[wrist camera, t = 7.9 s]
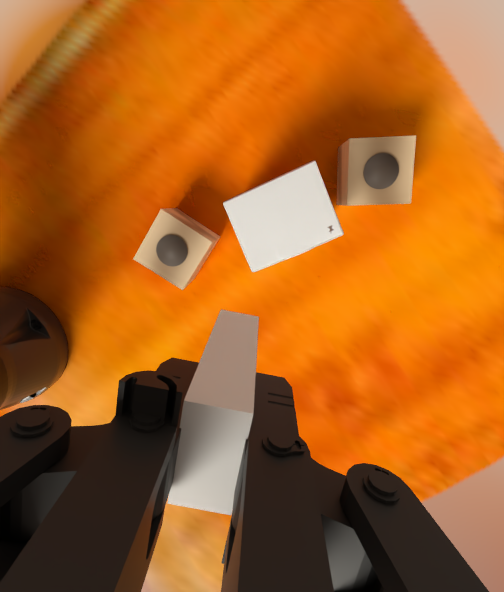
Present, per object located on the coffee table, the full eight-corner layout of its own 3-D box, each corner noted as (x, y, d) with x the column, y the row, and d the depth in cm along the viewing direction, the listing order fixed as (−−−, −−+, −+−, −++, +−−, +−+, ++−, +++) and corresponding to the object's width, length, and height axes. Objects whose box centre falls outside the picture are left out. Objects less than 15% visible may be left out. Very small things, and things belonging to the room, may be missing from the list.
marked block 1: (151, 251, 43) (132, 259, 37) (176, 207, 41) (160, 208, 35) (194, 278, 43) (182, 290, 37) (220, 236, 42) (211, 242, 36)
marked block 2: (336, 204, 40) (347, 205, 34) (337, 147, 39) (349, 138, 33) (390, 203, 40) (411, 203, 34) (394, 145, 38) (417, 135, 32)
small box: (303, 171, 40) (317, 157, 27) (324, 225, 41) (346, 235, 28) (236, 201, 41) (220, 202, 28) (258, 252, 42) (252, 275, 30)
